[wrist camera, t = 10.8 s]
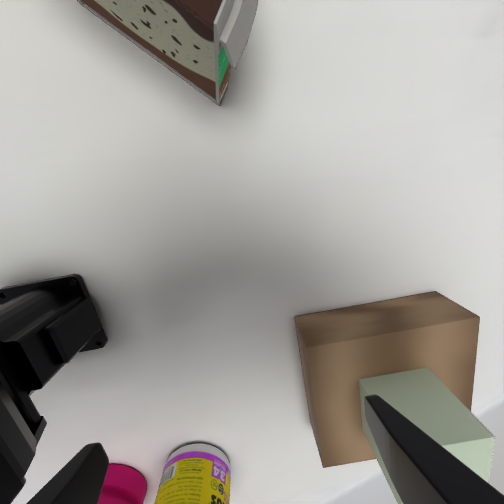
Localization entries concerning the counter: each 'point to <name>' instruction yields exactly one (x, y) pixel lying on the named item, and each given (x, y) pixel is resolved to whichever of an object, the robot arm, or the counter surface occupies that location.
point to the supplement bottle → (195, 477)
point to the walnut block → (379, 361)
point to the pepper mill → (123, 486)
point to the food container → (185, 35)
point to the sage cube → (431, 418)
